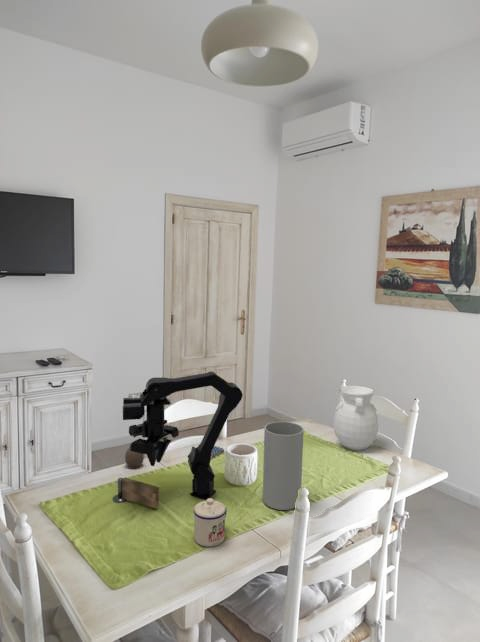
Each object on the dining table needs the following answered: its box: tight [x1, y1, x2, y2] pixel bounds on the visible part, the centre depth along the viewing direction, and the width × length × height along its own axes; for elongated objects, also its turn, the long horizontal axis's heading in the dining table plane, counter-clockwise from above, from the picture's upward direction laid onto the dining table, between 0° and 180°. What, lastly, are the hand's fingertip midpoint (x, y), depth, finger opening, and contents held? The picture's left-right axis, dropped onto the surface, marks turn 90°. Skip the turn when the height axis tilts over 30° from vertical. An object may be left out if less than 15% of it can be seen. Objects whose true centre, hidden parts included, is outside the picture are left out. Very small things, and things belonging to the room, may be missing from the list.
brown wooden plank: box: [122, 477, 160, 509], centre depth 154 cm, size 14×2×6 cm, turn 63°
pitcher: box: [333, 385, 379, 451], centre depth 205 cm, size 19×18×25 cm
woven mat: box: [211, 445, 225, 460], centre depth 196 cm, size 10×11×2 cm
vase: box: [124, 446, 145, 469], centre depth 183 cm, size 7×7×9 cm
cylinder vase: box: [262, 421, 305, 511], centre depth 157 cm, size 12×12×25 cm
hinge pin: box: [112, 477, 128, 504], centre depth 158 cm, size 5×5×7 cm
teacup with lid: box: [193, 497, 228, 547], centre depth 138 cm, size 12×9×12 cm
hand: (155, 464), depth 157 cm, fingers open, 3 cm apart
